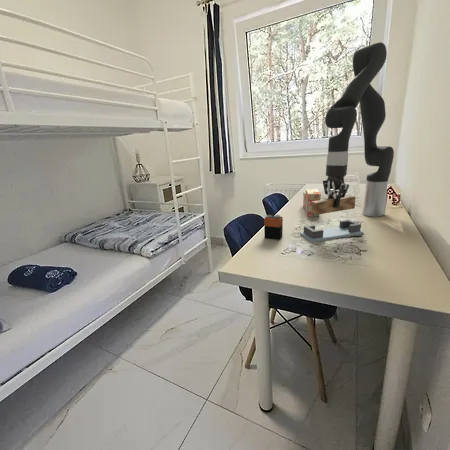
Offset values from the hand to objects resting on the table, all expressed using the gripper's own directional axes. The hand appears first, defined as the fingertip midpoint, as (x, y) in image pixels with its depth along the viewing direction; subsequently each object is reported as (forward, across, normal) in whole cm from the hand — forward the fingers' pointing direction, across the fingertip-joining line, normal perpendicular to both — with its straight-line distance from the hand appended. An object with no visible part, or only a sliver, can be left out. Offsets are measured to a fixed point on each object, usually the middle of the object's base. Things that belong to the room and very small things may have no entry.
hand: (333, 206), depth 103 cm
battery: (+13, -6, -24) cm, 27 cm away
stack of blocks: (+13, -35, +11) cm, 39 cm away
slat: (+2, 0, 0) cm, 2 cm away
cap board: (+12, 0, 0) cm, 12 cm away
